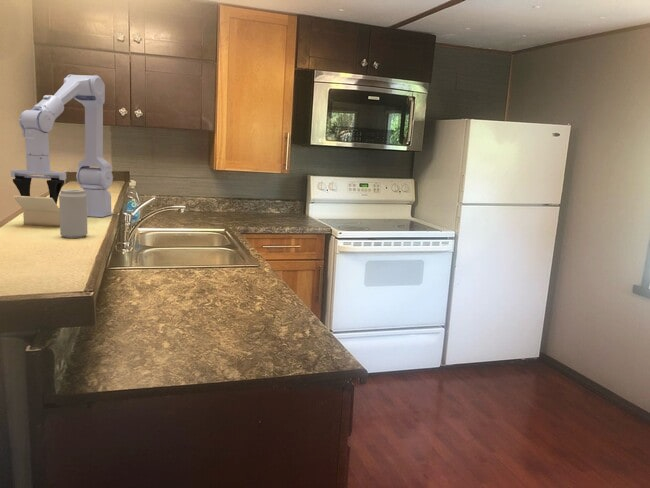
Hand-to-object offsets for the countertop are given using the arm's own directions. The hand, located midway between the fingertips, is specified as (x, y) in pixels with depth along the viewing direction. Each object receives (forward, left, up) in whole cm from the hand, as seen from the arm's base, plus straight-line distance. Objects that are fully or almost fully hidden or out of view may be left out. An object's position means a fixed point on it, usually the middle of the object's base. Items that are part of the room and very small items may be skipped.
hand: (40, 204), depth 152 cm
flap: (+1, 0, 0) cm, 1 cm away
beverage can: (+12, +15, -6) cm, 21 cm away
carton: (-4, 0, -6) cm, 7 cm away
